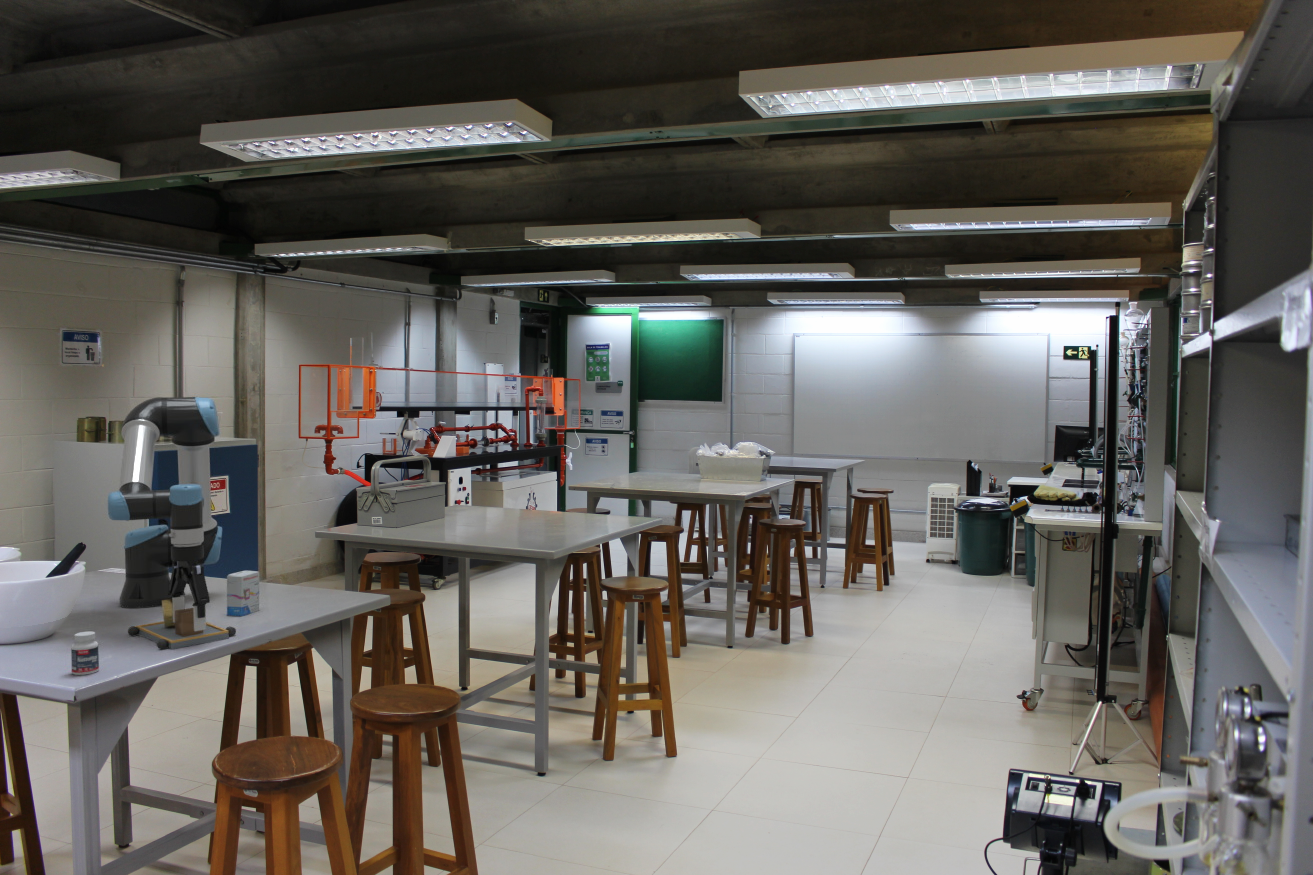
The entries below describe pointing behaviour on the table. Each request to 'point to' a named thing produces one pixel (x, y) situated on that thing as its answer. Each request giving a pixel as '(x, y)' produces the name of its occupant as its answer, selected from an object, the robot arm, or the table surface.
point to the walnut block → (185, 623)
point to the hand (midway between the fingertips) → (189, 625)
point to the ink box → (242, 593)
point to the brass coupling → (168, 612)
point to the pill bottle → (85, 654)
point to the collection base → (169, 639)
